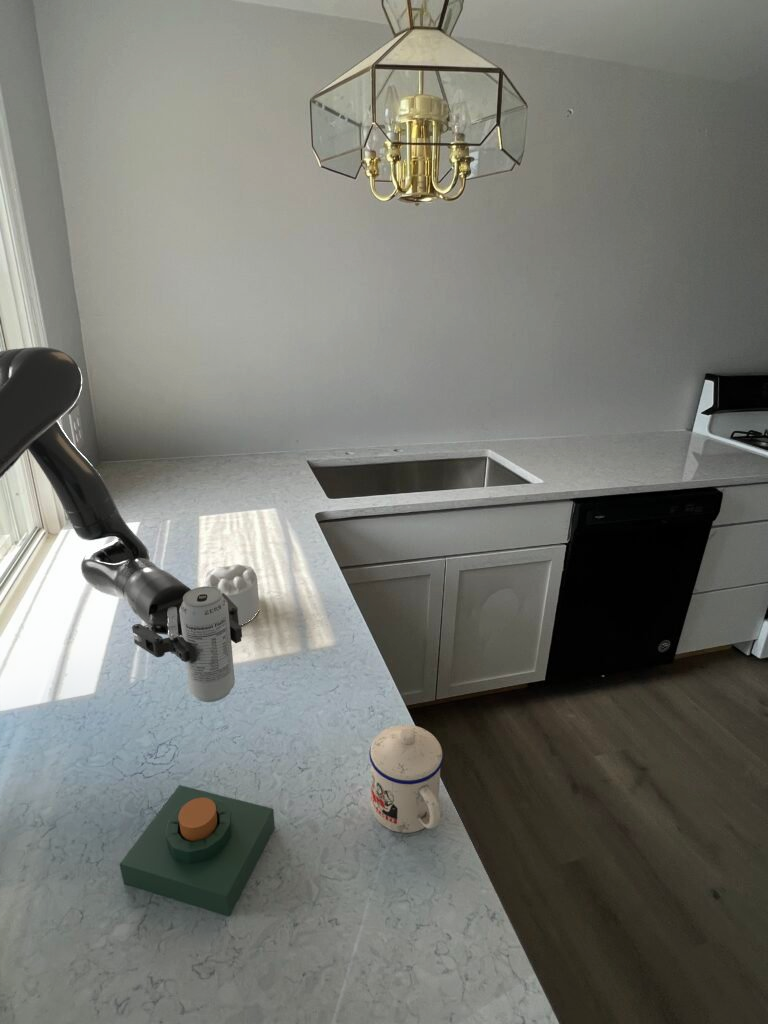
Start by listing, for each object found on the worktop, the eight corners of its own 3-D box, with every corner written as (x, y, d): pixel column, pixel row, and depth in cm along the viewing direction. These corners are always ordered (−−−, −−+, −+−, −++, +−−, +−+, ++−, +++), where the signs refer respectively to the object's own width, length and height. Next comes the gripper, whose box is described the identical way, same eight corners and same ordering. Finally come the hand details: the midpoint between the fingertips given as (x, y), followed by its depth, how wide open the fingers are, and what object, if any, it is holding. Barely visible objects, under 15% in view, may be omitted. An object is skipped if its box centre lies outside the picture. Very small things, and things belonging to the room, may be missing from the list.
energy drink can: (236, 674, 80) (228, 582, 75) (233, 702, 75) (224, 605, 69) (193, 678, 79) (181, 585, 74) (187, 707, 74) (174, 609, 68)
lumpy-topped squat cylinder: (255, 592, 123) (252, 557, 120) (263, 622, 112) (260, 584, 109) (206, 600, 120) (202, 563, 117) (209, 631, 108) (205, 592, 105)
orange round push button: (173, 836, 62) (171, 823, 61) (193, 807, 65) (191, 794, 65) (205, 845, 61) (203, 831, 60) (224, 815, 65) (222, 801, 64)
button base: (123, 884, 61) (116, 851, 60) (182, 803, 71) (177, 773, 70) (229, 917, 58) (225, 883, 57) (275, 827, 68) (272, 797, 66)
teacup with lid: (357, 791, 73) (357, 720, 69) (417, 767, 77) (420, 699, 73) (400, 869, 63) (403, 792, 59) (466, 837, 67) (473, 763, 63)
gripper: (105, 592, 77) (159, 644, 66) (201, 561, 87) (262, 601, 76) (114, 638, 80) (167, 695, 69) (206, 603, 90) (265, 648, 79)
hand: (216, 646), depth 72 cm, fingers closed on energy drink can, 6 cm apart
